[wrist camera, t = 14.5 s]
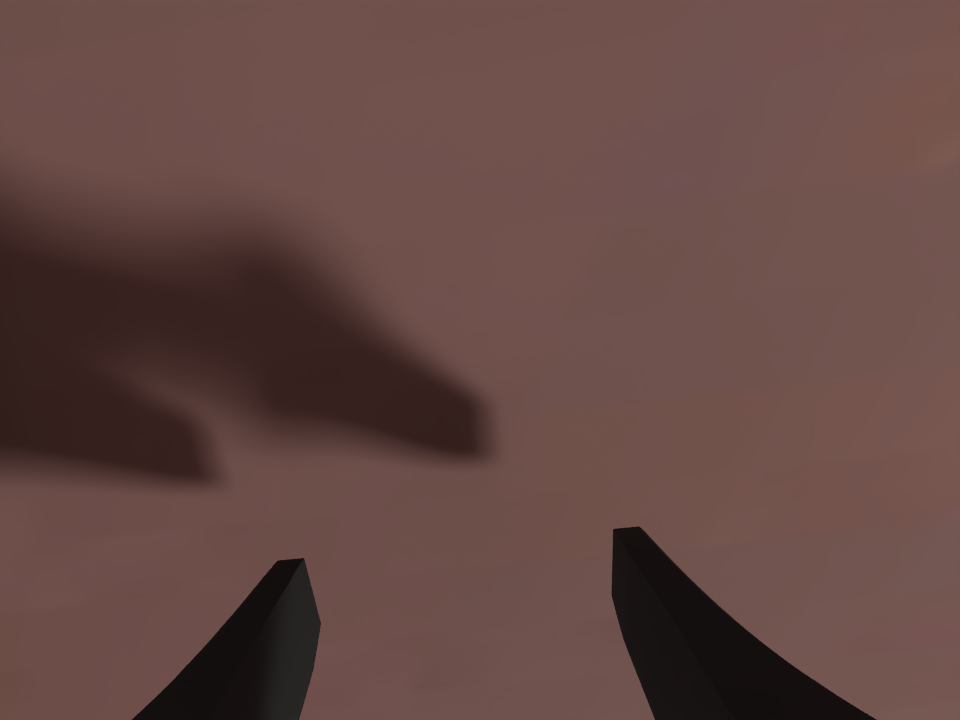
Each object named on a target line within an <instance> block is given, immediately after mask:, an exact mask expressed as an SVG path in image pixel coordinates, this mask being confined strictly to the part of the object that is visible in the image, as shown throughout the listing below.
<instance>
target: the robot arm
mask: <svg viewBox="0 0 960 720" xmlns="http://www.w3.org/2000/svg"><path fill="white" fill-rule="evenodd" d="M612 598H613V602H614V606H615V610H616V614H617V617H618V621H619V625H620V628H621V632H622V635H623V639H624V642H625V644H626V647H627V649H628V652H629V655H630V657H631V660H632V662H633V665H634V667H635V670H636V673H637V675H638V678H639V680H640V683H641V685H642V688H643V690H644V693H645V695H646V698H647V700H648V703H649V705H650V708H651V710H652V713H653V715H654V718H655V720H876V719H875V718H873V717H871V716H869V715H868V714H866V713H864V712H863V711H861V710H859V709H858V708H856V707H855V706H853V705H851V704H850V703H848V702H846V701H845V700H843V699H842V698H840V697H839V696H837V695H836V694H834V693H833V692H831V691H830V690H828V689H827V688H825V687H824V686H822V685H821V684H819V683H817V682H816V681H814V680H813V679H811V678H810V677H808V676H807V675H805V674H804V673H802V672H801V671H800V670H798V669H797V668H795V667H794V666H793V665H791V664H790V663H788V662H787V661H786V660H784V659H783V658H782V657H780V656H779V655H778V654H776V653H775V652H774V651H772V650H771V649H770V648H768V647H767V646H766V645H764V644H763V643H762V642H761V641H759V640H758V639H757V638H756V637H754V636H753V635H752V634H751V633H750V632H748V631H747V630H746V629H745V628H744V627H742V626H741V625H740V624H739V623H738V622H737V621H735V620H734V619H733V618H732V617H731V616H730V615H729V614H727V613H726V612H725V611H724V610H723V609H722V608H721V607H719V606H718V605H717V604H716V603H715V602H714V601H713V600H712V599H711V598H710V597H709V596H708V595H707V594H705V593H704V592H703V591H702V590H701V589H700V588H699V587H698V586H697V585H696V584H695V583H694V582H693V581H692V580H691V579H690V578H689V577H688V576H687V575H686V574H685V573H684V572H683V571H682V570H681V569H680V568H679V567H678V566H677V565H676V564H675V563H674V562H673V561H672V560H671V559H670V558H669V557H668V556H667V555H666V554H665V553H664V552H663V551H662V550H661V548H660V547H659V546H658V545H657V544H656V543H655V542H654V541H653V540H652V539H651V538H650V537H649V536H648V534H647V533H646V532H645V531H644V530H643V529H642V528H640V527H630V528H619V529H613V563H612ZM320 625H321V622H320V618H319V615H318V611H317V607H316V603H315V599H314V595H313V591H312V587H311V584H310V580H309V576H308V572H307V568H306V564H305V560H304V558H301V559H290V560H280V561H277V562H276V563H275V564H274V565H273V567H272V568H271V569H270V570H269V571H268V572H267V574H266V575H265V576H264V577H263V578H262V580H261V581H260V582H259V583H258V585H257V586H256V587H255V588H254V589H253V591H252V592H251V593H250V594H249V595H248V597H247V598H246V599H245V600H244V601H243V603H242V604H241V605H240V606H239V607H238V609H237V610H236V611H235V612H234V613H233V615H232V616H231V617H230V618H229V619H228V620H227V621H226V623H225V624H224V625H223V626H222V627H221V628H220V630H219V631H218V632H217V633H216V634H215V635H214V637H213V638H212V639H211V640H210V641H209V642H208V643H207V644H206V646H205V647H204V648H203V649H202V650H201V651H200V652H199V653H198V654H197V655H196V656H195V657H194V658H193V660H192V661H191V662H190V663H189V664H188V665H187V666H186V667H185V668H184V669H183V670H182V671H181V672H180V673H179V675H178V676H177V677H176V678H175V679H174V680H173V681H172V682H171V683H170V684H169V685H168V686H167V687H166V688H165V689H164V690H163V691H162V692H161V693H160V694H159V695H158V696H157V697H156V698H155V699H154V700H152V701H151V702H150V703H149V704H148V705H147V706H146V707H145V708H144V709H143V710H142V711H141V712H140V713H139V714H137V715H136V716H135V717H134V718H133V719H132V720H299V718H300V714H301V711H302V708H303V704H304V700H305V697H306V693H307V690H308V686H309V683H310V679H311V676H312V672H313V668H314V662H315V656H316V651H317V645H318V638H319V632H320Z"/></svg>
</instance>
